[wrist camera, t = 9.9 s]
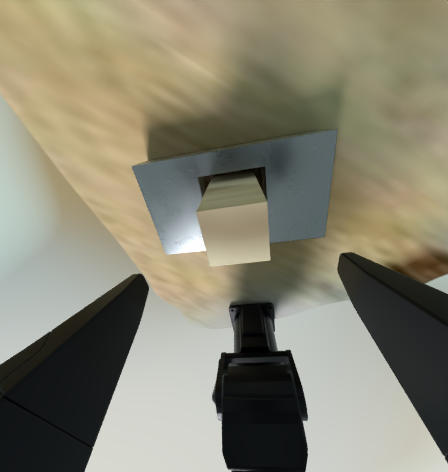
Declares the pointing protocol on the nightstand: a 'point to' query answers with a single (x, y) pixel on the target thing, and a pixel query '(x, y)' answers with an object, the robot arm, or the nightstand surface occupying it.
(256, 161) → the grey slotted block
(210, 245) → the ash peg
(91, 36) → the nightstand surface
